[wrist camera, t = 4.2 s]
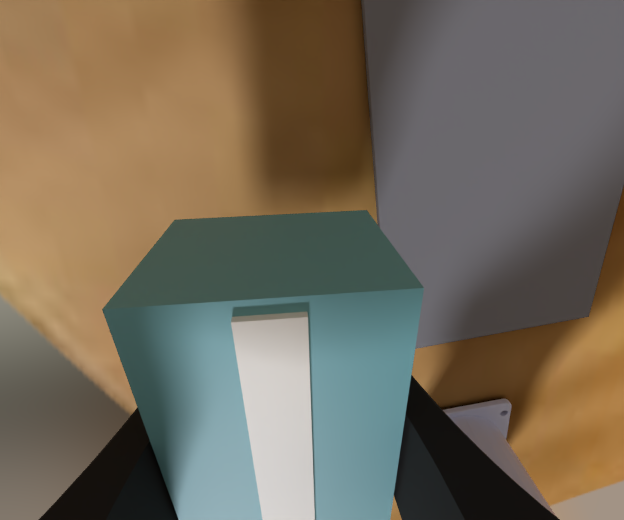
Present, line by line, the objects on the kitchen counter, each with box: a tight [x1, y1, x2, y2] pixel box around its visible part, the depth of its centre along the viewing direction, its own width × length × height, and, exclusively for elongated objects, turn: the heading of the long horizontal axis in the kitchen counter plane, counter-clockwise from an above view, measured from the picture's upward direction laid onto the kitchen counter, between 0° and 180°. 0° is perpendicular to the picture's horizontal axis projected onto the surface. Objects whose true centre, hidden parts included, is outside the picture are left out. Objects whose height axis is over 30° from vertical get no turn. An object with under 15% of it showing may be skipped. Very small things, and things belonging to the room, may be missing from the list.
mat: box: [361, 0, 624, 349], centre depth 16 cm, size 18×12×1 cm, turn 9°
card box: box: [102, 210, 424, 520], centre depth 9 cm, size 9×5×4 cm, turn 1°
